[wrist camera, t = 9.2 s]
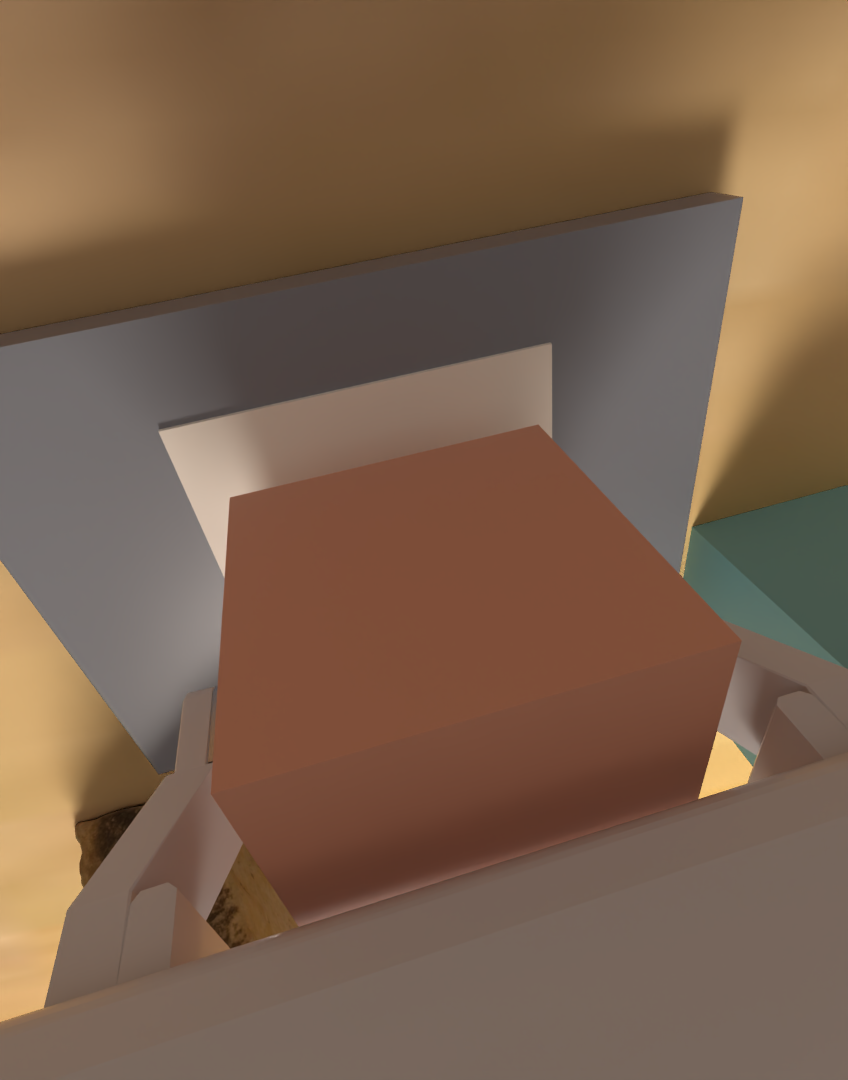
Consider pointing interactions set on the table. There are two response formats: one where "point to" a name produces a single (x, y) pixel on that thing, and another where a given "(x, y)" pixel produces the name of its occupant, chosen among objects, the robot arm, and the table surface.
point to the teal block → (779, 573)
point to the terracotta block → (451, 671)
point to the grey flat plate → (340, 415)
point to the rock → (241, 903)
